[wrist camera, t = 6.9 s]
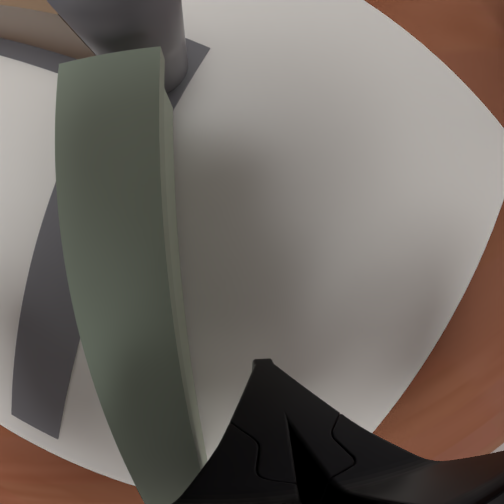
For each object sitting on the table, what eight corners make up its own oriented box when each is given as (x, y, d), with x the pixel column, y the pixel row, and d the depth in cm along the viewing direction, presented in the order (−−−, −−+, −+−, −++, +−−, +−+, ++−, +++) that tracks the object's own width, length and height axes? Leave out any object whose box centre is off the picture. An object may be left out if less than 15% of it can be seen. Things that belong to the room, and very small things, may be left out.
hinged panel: (123, 112, 8) (58, 64, 4) (180, 107, 8) (160, 46, 4) (172, 459, 11) (171, 548, 6) (212, 457, 11) (221, 547, 7)
